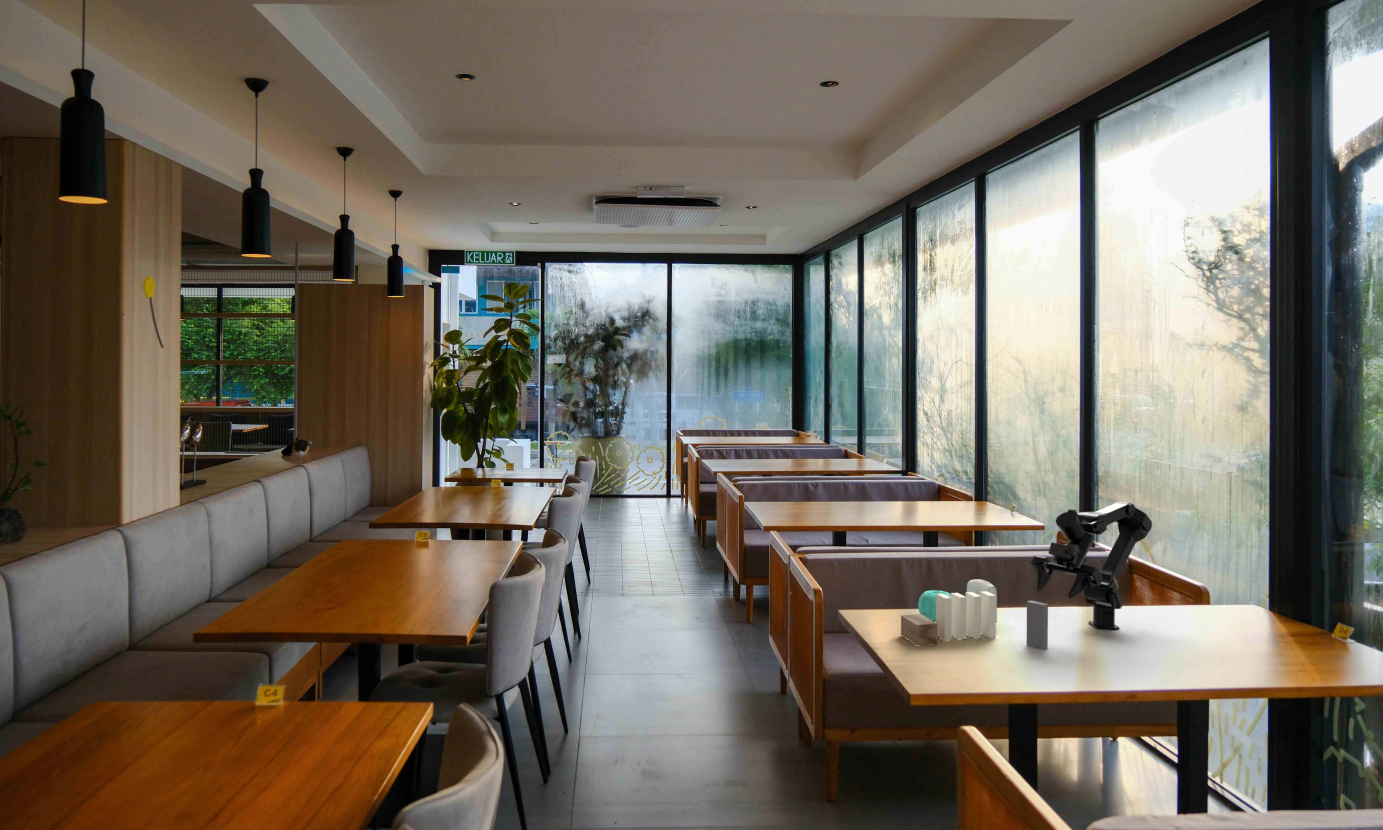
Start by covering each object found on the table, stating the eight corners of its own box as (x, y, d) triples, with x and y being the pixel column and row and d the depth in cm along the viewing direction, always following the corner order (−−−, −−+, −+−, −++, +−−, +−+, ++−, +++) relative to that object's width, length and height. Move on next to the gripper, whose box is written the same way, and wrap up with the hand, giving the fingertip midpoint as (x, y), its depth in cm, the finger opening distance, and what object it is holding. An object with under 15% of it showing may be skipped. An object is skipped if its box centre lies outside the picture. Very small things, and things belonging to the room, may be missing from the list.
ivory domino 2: (957, 634, 238) (957, 592, 238) (966, 639, 233) (966, 596, 233) (950, 634, 238) (950, 593, 238) (959, 640, 233) (959, 597, 233)
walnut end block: (920, 634, 239) (920, 613, 239) (937, 644, 229) (937, 623, 229) (900, 635, 238) (901, 615, 238) (916, 645, 228) (916, 624, 228)
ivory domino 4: (986, 632, 240) (986, 591, 240) (995, 637, 235) (995, 595, 235) (979, 633, 240) (980, 591, 239) (989, 638, 235) (989, 595, 234)
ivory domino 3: (971, 633, 239) (972, 591, 239) (981, 638, 234) (981, 596, 234) (965, 634, 239) (965, 592, 238) (974, 639, 234) (974, 596, 233)
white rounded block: (964, 617, 256) (964, 577, 256) (976, 615, 258) (976, 576, 257) (987, 626, 247) (987, 584, 246) (999, 624, 248) (999, 583, 248)
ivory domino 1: (942, 635, 237) (942, 593, 237) (951, 640, 232) (951, 597, 232) (936, 635, 237) (936, 593, 237) (944, 641, 232) (944, 598, 232)
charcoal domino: (1030, 643, 229) (1031, 600, 229) (1047, 648, 225) (1048, 604, 225) (1026, 645, 228) (1026, 601, 228) (1043, 649, 224) (1043, 605, 224)
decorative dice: (956, 620, 253) (956, 594, 253) (938, 624, 249) (938, 597, 248) (935, 614, 260) (935, 588, 259) (917, 618, 255) (917, 592, 255)
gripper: (1034, 527, 241) (1011, 570, 235) (1097, 536, 226) (1074, 582, 220) (1050, 551, 246) (1027, 594, 240) (1112, 562, 230) (1090, 608, 224)
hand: (1053, 594), depth 231 cm, fingers open, 9 cm apart
